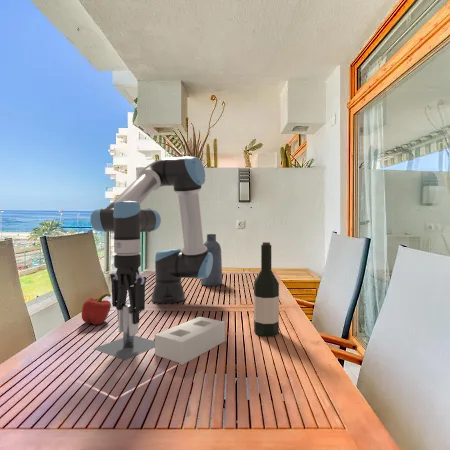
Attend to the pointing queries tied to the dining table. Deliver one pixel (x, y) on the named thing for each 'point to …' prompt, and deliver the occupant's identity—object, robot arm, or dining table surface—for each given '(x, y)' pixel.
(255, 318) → the wine bottle
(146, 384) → the dining table surface
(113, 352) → the mat
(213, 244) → the blue-grey bottle
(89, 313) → the vegetable
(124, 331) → the peg
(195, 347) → the block
